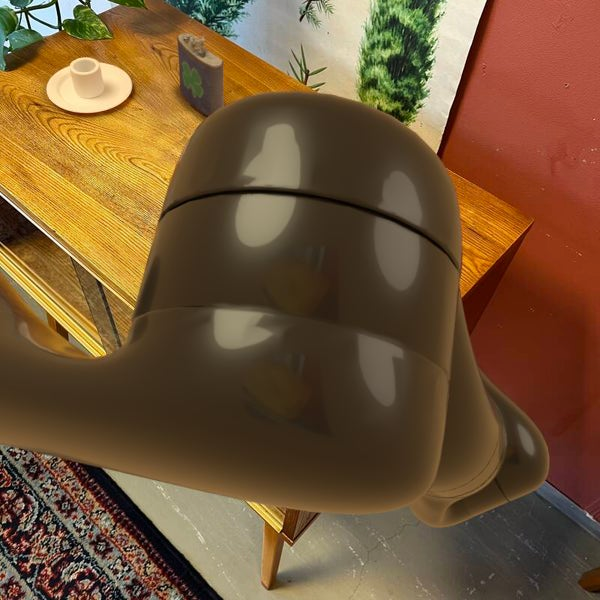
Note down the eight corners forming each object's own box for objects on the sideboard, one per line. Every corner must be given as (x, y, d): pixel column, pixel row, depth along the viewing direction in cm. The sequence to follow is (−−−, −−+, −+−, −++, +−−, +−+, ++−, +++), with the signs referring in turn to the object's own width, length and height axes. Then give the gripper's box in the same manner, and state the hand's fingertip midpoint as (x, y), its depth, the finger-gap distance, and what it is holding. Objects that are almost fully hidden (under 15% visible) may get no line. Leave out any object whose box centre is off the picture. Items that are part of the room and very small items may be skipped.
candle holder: (79, 58, 101) (74, 31, 98) (148, 81, 99) (145, 55, 96) (30, 100, 95) (22, 73, 91) (102, 127, 92) (97, 100, 89)
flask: (227, 117, 96) (226, 50, 87) (211, 124, 94) (208, 57, 86) (190, 85, 100) (186, 17, 91) (174, 91, 98) (168, 24, 90)
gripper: (470, 239, 55) (393, 109, 64) (309, 268, 51) (253, 126, 61) (447, 294, 61) (379, 168, 70) (301, 324, 57) (251, 187, 67)
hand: (321, 149), depth 66 cm, fingers closed on knife, 2 cm apart
